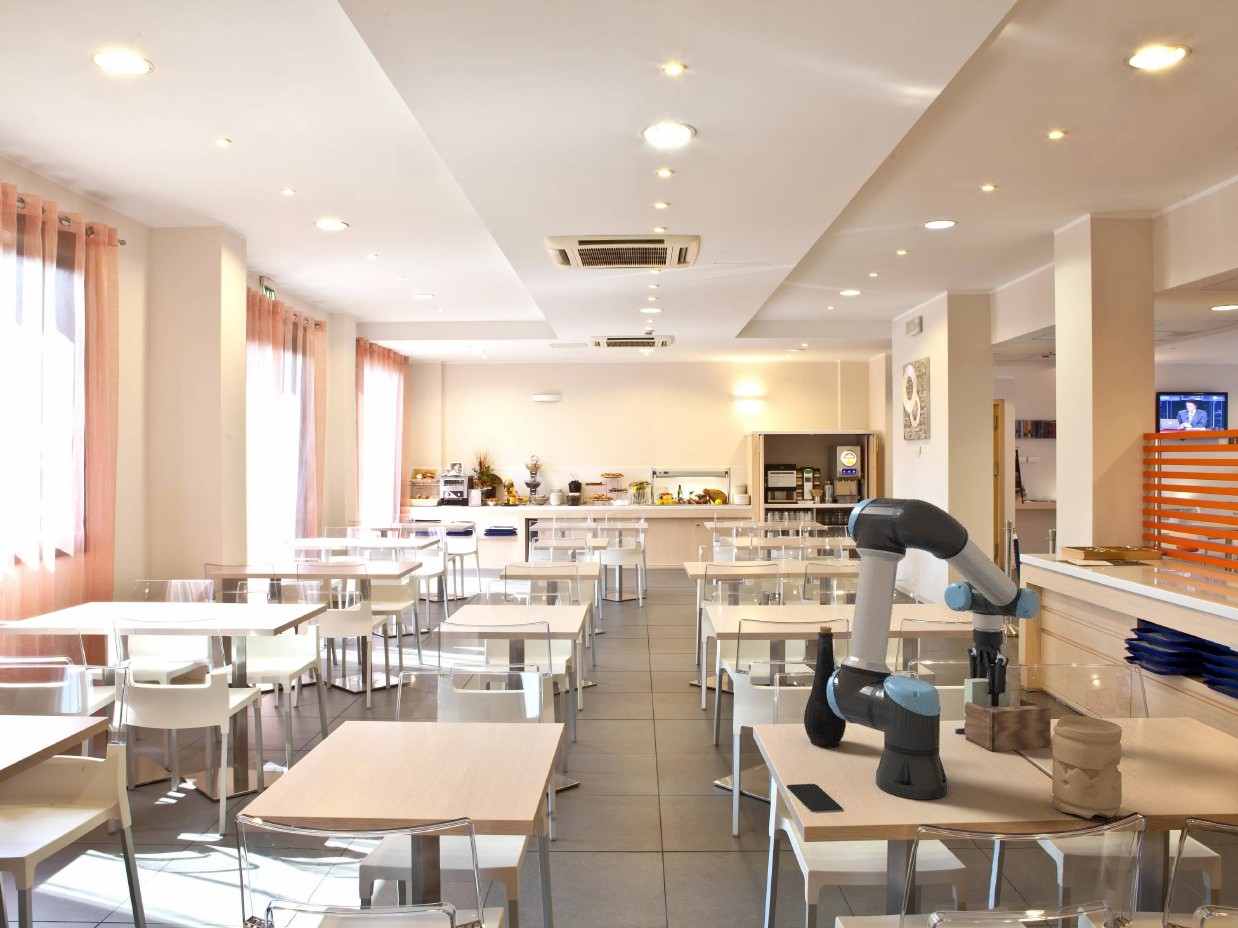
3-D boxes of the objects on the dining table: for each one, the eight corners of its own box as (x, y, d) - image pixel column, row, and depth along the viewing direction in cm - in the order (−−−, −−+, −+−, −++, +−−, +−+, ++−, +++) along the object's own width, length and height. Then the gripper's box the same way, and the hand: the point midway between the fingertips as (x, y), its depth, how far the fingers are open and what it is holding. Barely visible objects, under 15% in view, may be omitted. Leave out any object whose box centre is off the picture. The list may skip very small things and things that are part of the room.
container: (1056, 816, 168) (1057, 728, 168) (1048, 795, 179) (1048, 712, 180) (1127, 826, 163) (1127, 735, 164) (1114, 803, 175) (1114, 719, 175)
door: (972, 719, 220) (972, 681, 220) (964, 715, 223) (964, 678, 223) (1009, 716, 223) (1010, 679, 223) (1001, 713, 226) (1001, 677, 226)
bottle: (850, 741, 215) (851, 626, 215) (838, 752, 206) (839, 632, 206) (811, 734, 220) (812, 622, 221) (797, 744, 212) (799, 627, 212)
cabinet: (991, 751, 208) (991, 711, 209) (952, 733, 223) (952, 696, 224) (1050, 746, 213) (1050, 707, 213) (1007, 729, 228) (1008, 692, 228)
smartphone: (815, 783, 184) (844, 809, 169) (815, 786, 184) (844, 812, 169) (784, 784, 183) (811, 810, 168) (784, 787, 183) (811, 814, 168)
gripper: (1021, 633, 217) (1020, 723, 216) (979, 623, 232) (978, 706, 232) (997, 634, 215) (996, 725, 214) (956, 624, 231) (956, 708, 230)
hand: (987, 715), depth 223 cm, fingers closed on door, 3 cm apart
